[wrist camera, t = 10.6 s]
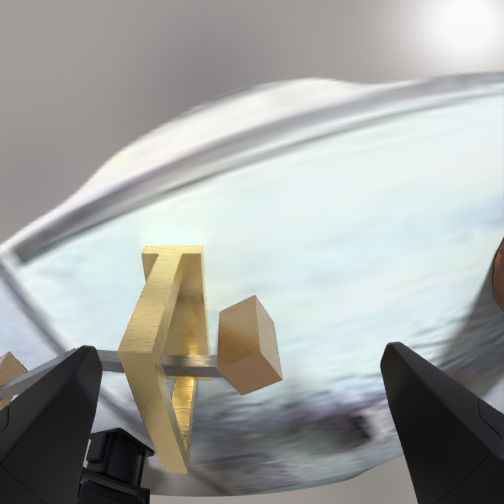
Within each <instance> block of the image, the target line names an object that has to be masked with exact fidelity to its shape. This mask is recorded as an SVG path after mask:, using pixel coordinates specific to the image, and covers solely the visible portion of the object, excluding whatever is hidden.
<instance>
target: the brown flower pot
mask: <svg viewBox="0 0 504 504" xmlns="http://www.w3.org/2000/svg"><path fill="white" fill-rule="evenodd" d="M494 265H495V267H494V275H493V290H494V295H495V298H496V300H497V302H498V304H499V305H500V307H501V308H502V310H503V311H504V241H503V243H502V245H501V247H500V248H499V251H498V253H497V256H496V259H495V263H494Z"/></svg>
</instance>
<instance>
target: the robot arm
mask: <svg viewBox="0 0 504 504" xmlns="http://www.w3.org/2000/svg"><path fill="white" fill-rule="evenodd" d="M380 368H381V373H382V377H383V381H384V386H385V390H386V395H387V400H388V404H389V408H390V411H391V414H392V418H393V421H394V424H395V427H396V430H397V433H398V436H399V439H400V442H401V446H402V449H403V452H404V455H405V459H406V462H407V466H408V469H409V472H410V476H411V480H412V483H413V487H414V490H415V494H416V497H417V502H418V504H504V414H503V413H501V412H499V411H498V410H496V409H495V408H493V407H492V406H490V405H489V404H487V403H486V402H485V401H483V400H482V399H480V398H479V397H478V398H477V396H476V395H475V394H473V393H472V392H471V391H469V390H468V389H466V388H465V387H463V386H462V385H461V384H459V383H458V382H456V381H455V380H454V379H452V378H451V377H449V376H448V375H447V374H445V373H444V372H442V371H441V370H439V369H438V368H437V367H435V366H434V365H432V364H431V363H430V362H428V361H427V360H425V359H424V358H422V357H421V356H420V355H418V354H417V353H415V352H414V351H413V350H411V349H410V348H408V347H407V346H405V345H404V344H403V343H401V342H391V343H388V344H387V345H386V348H385V351H384V353H383V356H382V359H381V363H380ZM102 372H103V367H102V363H101V360H100V358H99V355H98V352H97V350H96V348H95V347H94V346H86V345H83V346H81V347H80V348H78V349H77V350H76V351H74V352H73V353H72V354H71V355H69V356H68V357H67V358H65V359H64V360H63V361H62V362H60V363H59V364H58V365H57V366H55V367H54V368H53V369H51V370H50V371H49V372H48V373H46V374H45V375H44V376H43V377H41V378H40V379H39V380H38V381H36V382H35V383H34V384H32V385H31V386H30V387H29V388H27V389H26V390H25V391H24V392H22V393H21V394H20V395H19V396H18V397H16V398H15V399H14V400H13V401H11V402H10V403H9V405H6V406H5V407H4V408H3V409H1V410H0V504H149V502H150V500H149V499H150V489H147V488H141V487H140V485H141V479H142V473H143V467H144V461H145V457H149V456H154V451H152V450H151V449H149V448H148V447H146V446H145V445H143V444H142V443H141V442H139V441H138V440H136V439H135V438H133V437H132V436H131V435H129V434H128V433H126V432H125V431H124V430H122V429H120V428H116V429H112V430H107V431H103V432H98V433H93V434H90V433H91V429H92V425H93V421H94V418H95V413H96V408H97V402H98V396H99V390H100V384H101V378H102ZM89 439H90V440H91V443H90V446H89V450H88V453H87V457H86V460H87V461H88V464H87V468H85V467H83V462H84V458H85V454H86V449H87V445H88V441H89ZM81 482H82V483H81Z"/></svg>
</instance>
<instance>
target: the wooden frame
mask: <svg viewBox="0 0 504 504" xmlns="http://www.w3.org/2000/svg"><path fill="white" fill-rule="evenodd" d="M142 261H143V267H144V274H145V280H146V284H145V286H144V289H143V291H142V293H141V296H140V298H139V300H138V303H137V305H136V307H135V310H134V312H133V314H132V317H131V319H130V321H129V324H128V326H127V329H126V331H125V334H124V336H123V339H122V341H121V344H120V346H119V349H118V354H119V357H120V360H121V363H122V366H123V369H124V372H125V375H126V377H127V380H128V383H129V386H130V388H131V391H132V394H133V396H134V399H135V402H136V404H137V407H138V409H139V412H140V414H141V417H142V419H143V421H144V424H145V426H146V429H147V431H148V433H149V435H150V438H151V440H152V442H153V444H154V447H155V449H156V451H157V453H158V455H159V457H160V460H161V462H162V464H163V466H164V468H165V470H166V472H171V473H183V474H188V470H189V458H190V446H191V435H192V424H193V414H194V404H195V394H196V384H197V380H212V377H182V376H166V375H165V371H164V367H163V362H162V355H163V354H166V355H200V356H211V353H210V342H209V330H208V318H207V305H206V291H205V276H204V259H203V246H146V247H145V248H144V250H143V252H142ZM167 379H175V384H174V390H173V396H172V399H171V395H170V391H169V387H168V383H167Z"/></svg>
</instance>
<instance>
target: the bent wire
mask: <svg viewBox="0 0 504 504" xmlns="http://www.w3.org/2000/svg"><path fill="white" fill-rule="evenodd" d="M77 349H78V348H77ZM74 351H76V349H75V348H74V349H72V350H70V351H68V352H66V353H64V354H62V355H60V356H58V357H56V358H54V359H52V360H50V361H48V362H47V363H45V364H43V365H41V366H39V367H37V368H35V369H33V370H31V371H29V372H27V370H26V369H25V368H24V367H23V366H22V365H21V363H20V362H19V361H18V360H17V359H16V358H15V357H14V356H13V355H12V354H11V353H10V352H8V353H6V354H5V355H3V356H2V357H0V410H1V409H3V408H4V407H5V406H6V405H9V403H10V401H11V400H12V398H13V396H14V395H16V394H18V393H21V392H23V391H25V390H26V389H27V388H29V387H30V386H31V385H32V384H34V383H35V382H36V381H38V380H39V379H40V378H41V377H43V376H44V375H45V374H46V373H48V372H49V371H50V370H51V369H53V368H54V367H55V366H57V365H58V364H59V363H60V362H62V361H63V360H64V359H65V358H67V357H68V356H69V355H71V354H72V353H73V352H74ZM97 352H98V355H99V358H100V360H101V363H102V367H103V371H111V372H121V373H125V372H124V369H123V366H122V363H121V360H120V357H119V354H118V352H117V351H105V350H97ZM162 362H163V367H164V371H165V375H166V376H182V377H224V378H225V379H226V380H227V381H228V382H229V383H230V384H231V385H232V386H233V387H234V388H235V389H236V390H237V391H238V392H239V393H240V394H241V395H244V394H247V393H250V392H253V391H255V390H258V389H261V388H263V387H266V386H268V385H271V384H274V383H276V382H279V381H281V380H283V378H282V372H281V365H280V359H279V353H278V346H277V340H276V334H275V328H274V322H273V321H272V319H271V318H270V316H269V315H268V313H267V312H266V311H265V309H264V308H263V306H262V305H261V303H260V302H259V300H258V299H257V297H256V296H255V295H254V296H252V297H250V298H248V299H246V300H244V301H242V302H239V303H237V304H235V305H233V306H231V307H229V308H227V309H225V310H223V311H221V312H220V319H219V336H218V355H217V356H200V355H166V354H163V355H162ZM26 372H27V373H26Z"/></svg>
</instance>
